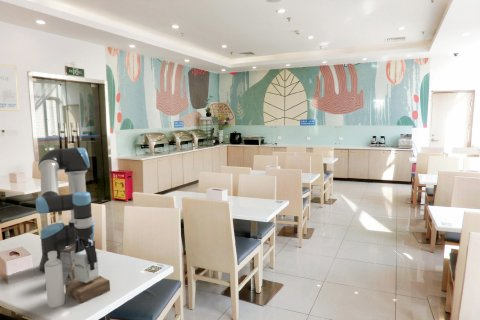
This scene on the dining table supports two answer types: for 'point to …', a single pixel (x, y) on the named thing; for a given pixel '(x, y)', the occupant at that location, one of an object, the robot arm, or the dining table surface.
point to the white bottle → (54, 280)
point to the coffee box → (68, 263)
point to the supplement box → (83, 267)
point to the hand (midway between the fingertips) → (86, 273)
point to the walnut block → (87, 289)
